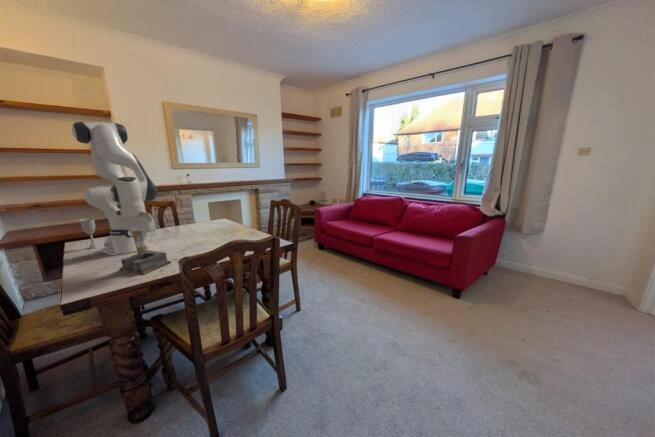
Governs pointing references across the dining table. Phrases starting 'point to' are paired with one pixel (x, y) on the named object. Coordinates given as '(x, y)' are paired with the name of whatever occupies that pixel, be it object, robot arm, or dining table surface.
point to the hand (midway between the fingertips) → (140, 239)
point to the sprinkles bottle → (139, 241)
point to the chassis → (144, 262)
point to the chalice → (89, 229)
